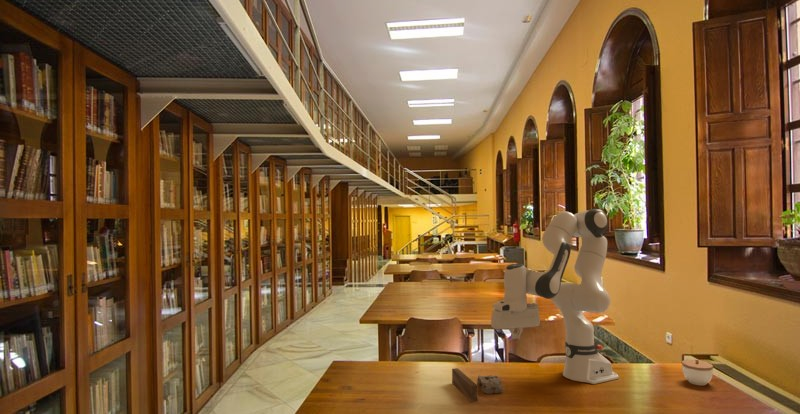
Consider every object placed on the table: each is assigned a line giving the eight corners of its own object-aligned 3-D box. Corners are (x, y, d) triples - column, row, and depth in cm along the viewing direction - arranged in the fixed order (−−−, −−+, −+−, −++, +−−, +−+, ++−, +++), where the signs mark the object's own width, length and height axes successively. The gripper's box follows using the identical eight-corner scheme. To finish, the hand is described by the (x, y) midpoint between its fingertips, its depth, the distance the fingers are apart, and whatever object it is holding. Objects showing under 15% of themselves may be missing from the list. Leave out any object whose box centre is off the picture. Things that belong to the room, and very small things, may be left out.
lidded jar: (686, 376, 197) (685, 354, 197) (716, 382, 189) (715, 359, 190) (678, 382, 190) (678, 359, 190) (709, 389, 182) (709, 365, 182)
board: (458, 382, 192) (457, 368, 192) (477, 401, 173) (477, 385, 173) (452, 383, 191) (452, 368, 191) (471, 402, 172) (471, 386, 172)
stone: (476, 374, 193) (500, 373, 191) (477, 389, 192) (502, 388, 190) (475, 380, 180) (502, 378, 179) (477, 395, 179) (504, 394, 177)
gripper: (534, 301, 194) (535, 334, 193) (489, 304, 189) (489, 338, 188) (542, 304, 187) (543, 338, 187) (496, 307, 182) (496, 342, 182)
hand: (516, 338), depth 188 cm, fingers closed
